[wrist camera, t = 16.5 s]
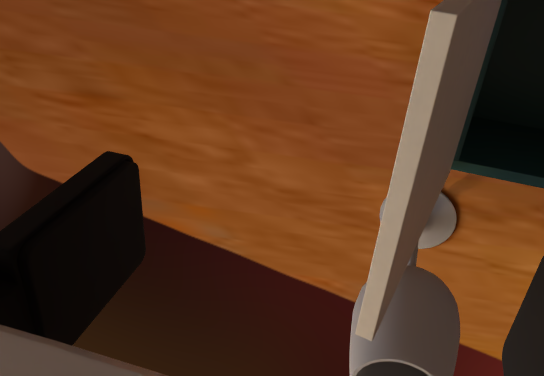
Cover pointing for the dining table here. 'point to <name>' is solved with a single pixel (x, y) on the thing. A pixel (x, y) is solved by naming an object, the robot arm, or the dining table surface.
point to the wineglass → (413, 316)
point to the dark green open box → (508, 101)
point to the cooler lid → (427, 142)
